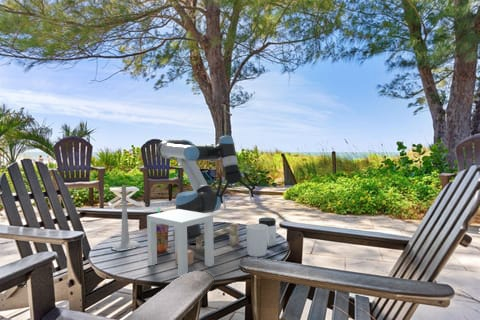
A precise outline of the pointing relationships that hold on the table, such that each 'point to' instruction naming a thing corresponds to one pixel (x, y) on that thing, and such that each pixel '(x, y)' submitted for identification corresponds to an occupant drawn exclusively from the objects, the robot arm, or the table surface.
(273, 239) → the jar
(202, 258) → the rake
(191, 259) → the block
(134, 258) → the table surface
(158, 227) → the smoothie
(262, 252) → the candle holder
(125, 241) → the candlestick
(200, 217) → the stool
